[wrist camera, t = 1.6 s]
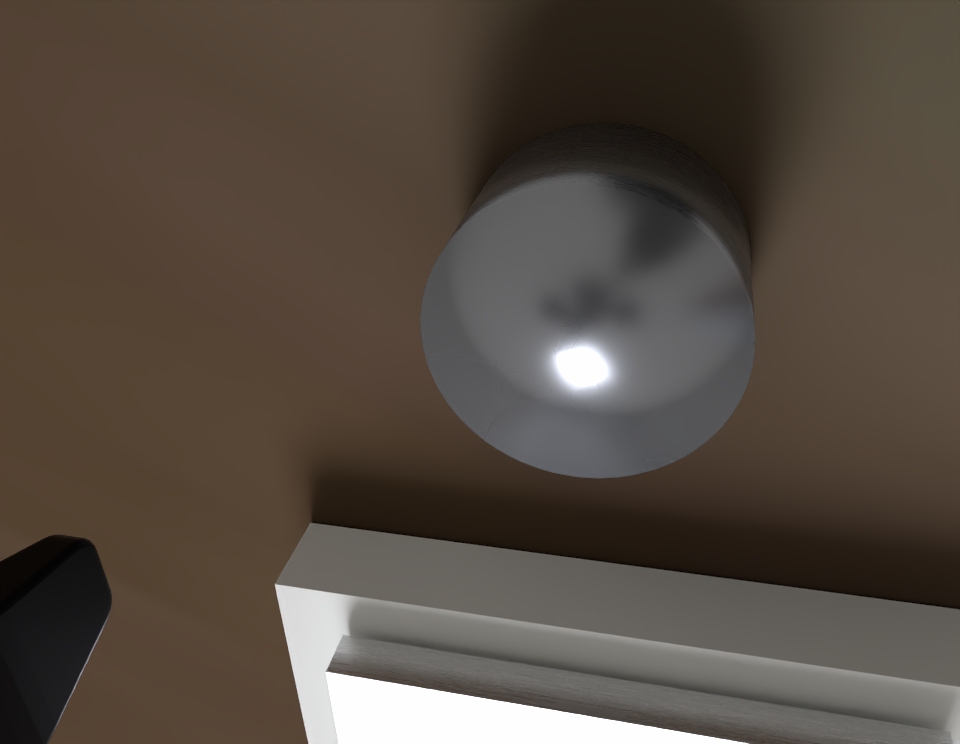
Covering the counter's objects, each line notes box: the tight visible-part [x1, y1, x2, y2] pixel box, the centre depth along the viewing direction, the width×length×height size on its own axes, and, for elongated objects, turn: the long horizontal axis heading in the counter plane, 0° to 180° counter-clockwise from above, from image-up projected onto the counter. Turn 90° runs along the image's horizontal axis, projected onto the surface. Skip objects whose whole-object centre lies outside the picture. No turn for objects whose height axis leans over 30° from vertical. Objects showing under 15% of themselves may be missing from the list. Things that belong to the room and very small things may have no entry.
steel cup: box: [421, 123, 755, 478], centre depth 15 cm, size 5×5×3 cm
